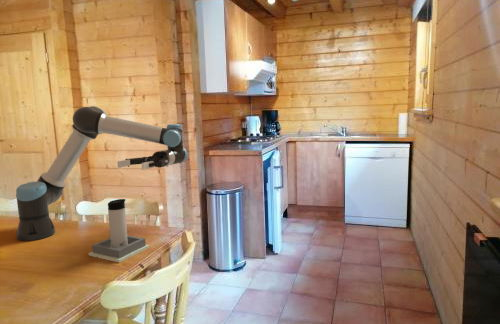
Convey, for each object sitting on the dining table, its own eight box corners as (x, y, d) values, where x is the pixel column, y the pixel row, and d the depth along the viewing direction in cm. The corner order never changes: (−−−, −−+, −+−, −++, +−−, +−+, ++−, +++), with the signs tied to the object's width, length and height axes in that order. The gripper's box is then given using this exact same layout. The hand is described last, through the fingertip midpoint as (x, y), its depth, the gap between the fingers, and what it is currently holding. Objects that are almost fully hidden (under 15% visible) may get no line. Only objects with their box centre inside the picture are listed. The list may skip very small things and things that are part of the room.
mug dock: (88, 255, 143) (88, 245, 143) (120, 241, 157) (119, 232, 157) (119, 262, 136) (118, 252, 135) (149, 247, 150) (148, 237, 150)
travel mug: (125, 252, 143) (122, 201, 140) (108, 252, 143) (104, 201, 140) (131, 245, 150) (127, 197, 147) (115, 246, 150) (111, 197, 147)
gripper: (185, 167, 170) (153, 176, 151) (143, 165, 181) (109, 172, 162) (184, 151, 169) (152, 157, 150) (142, 149, 180) (107, 155, 161)
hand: (130, 165), depth 156 cm, fingers open, 13 cm apart
